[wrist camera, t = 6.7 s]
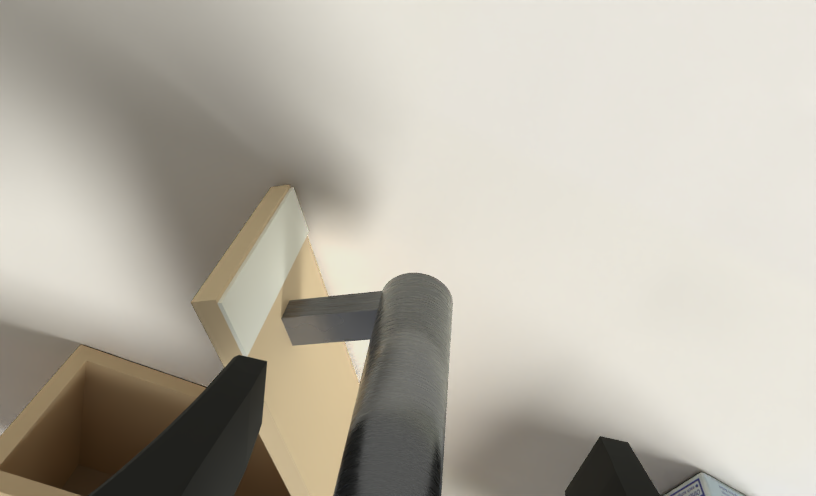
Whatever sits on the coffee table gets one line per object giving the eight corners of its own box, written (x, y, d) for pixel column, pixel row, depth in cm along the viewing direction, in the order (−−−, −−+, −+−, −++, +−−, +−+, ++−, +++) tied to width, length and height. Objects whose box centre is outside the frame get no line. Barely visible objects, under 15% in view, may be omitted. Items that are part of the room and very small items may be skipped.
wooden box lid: (363, 437, 23) (299, 744, 14) (271, 187, 17) (73, 471, 9) (489, 431, 22) (497, 758, 13) (439, 162, 16) (398, 459, 7)
